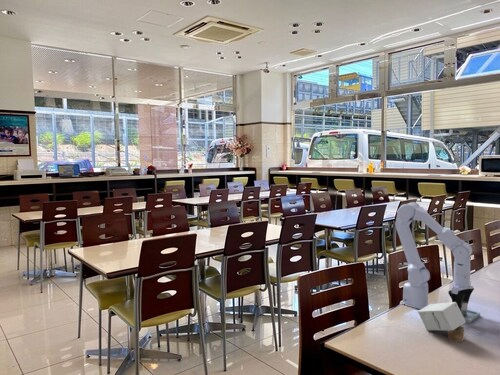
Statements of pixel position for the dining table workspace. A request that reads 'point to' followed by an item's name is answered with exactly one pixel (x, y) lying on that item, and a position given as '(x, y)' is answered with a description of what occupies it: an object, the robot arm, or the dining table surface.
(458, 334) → the walnut block
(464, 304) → the silver cylindrical canister
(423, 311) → the supplement box
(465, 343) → the dining table surface
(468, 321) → the tray
